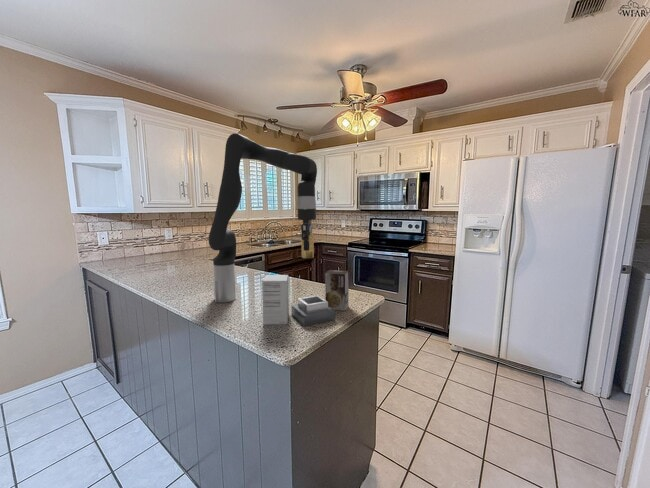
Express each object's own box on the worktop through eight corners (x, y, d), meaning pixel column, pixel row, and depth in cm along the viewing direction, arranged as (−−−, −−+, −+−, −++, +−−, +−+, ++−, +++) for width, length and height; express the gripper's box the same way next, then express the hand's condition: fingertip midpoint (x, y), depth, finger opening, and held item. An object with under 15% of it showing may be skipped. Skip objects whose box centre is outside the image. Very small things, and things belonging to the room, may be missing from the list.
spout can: (312, 258, 110) (312, 233, 109) (295, 258, 111) (294, 233, 110) (314, 256, 115) (314, 232, 114) (297, 256, 116) (297, 233, 115)
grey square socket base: (304, 326, 100) (303, 307, 99) (291, 314, 111) (291, 297, 110) (334, 320, 105) (335, 302, 105) (320, 309, 117) (320, 293, 116)
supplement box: (266, 315, 110) (265, 274, 108) (289, 314, 111) (288, 274, 109) (262, 325, 100) (261, 280, 98) (287, 324, 101) (287, 280, 99)
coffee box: (348, 306, 121) (349, 270, 119) (345, 311, 115) (345, 274, 113) (329, 304, 124) (329, 269, 122) (324, 308, 117) (324, 272, 116)
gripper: (300, 208, 118) (301, 247, 120) (293, 207, 104) (295, 252, 106) (318, 208, 117) (318, 247, 119) (313, 207, 103) (314, 252, 105)
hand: (307, 249), depth 112 cm, fingers closed on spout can, 5 cm apart
